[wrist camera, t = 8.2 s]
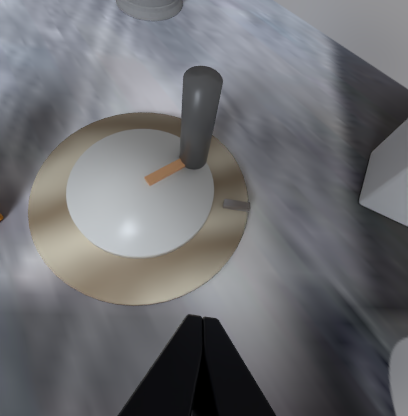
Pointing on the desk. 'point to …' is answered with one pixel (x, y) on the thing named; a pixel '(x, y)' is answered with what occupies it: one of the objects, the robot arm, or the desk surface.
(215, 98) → the dial
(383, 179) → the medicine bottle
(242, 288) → the desk surface
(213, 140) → the base plate
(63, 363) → the desk surface
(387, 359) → the desk surface
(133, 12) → the grey and black mug
